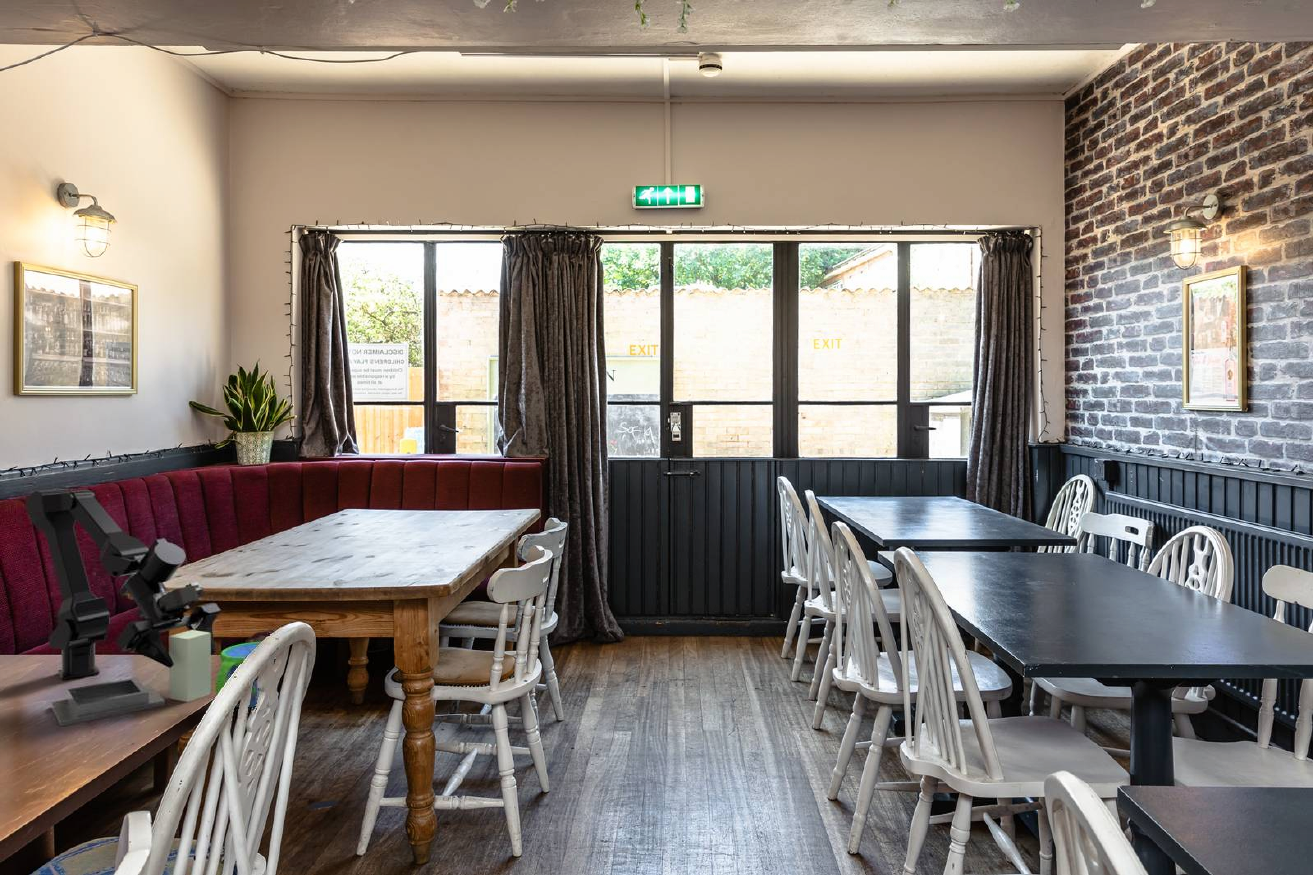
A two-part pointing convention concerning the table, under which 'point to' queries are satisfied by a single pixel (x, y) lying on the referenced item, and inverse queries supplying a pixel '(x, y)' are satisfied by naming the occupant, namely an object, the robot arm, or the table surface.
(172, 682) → the sage block
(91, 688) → the grey rectangular tray
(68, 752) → the table surface
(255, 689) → the snack cup
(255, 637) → the icecream
